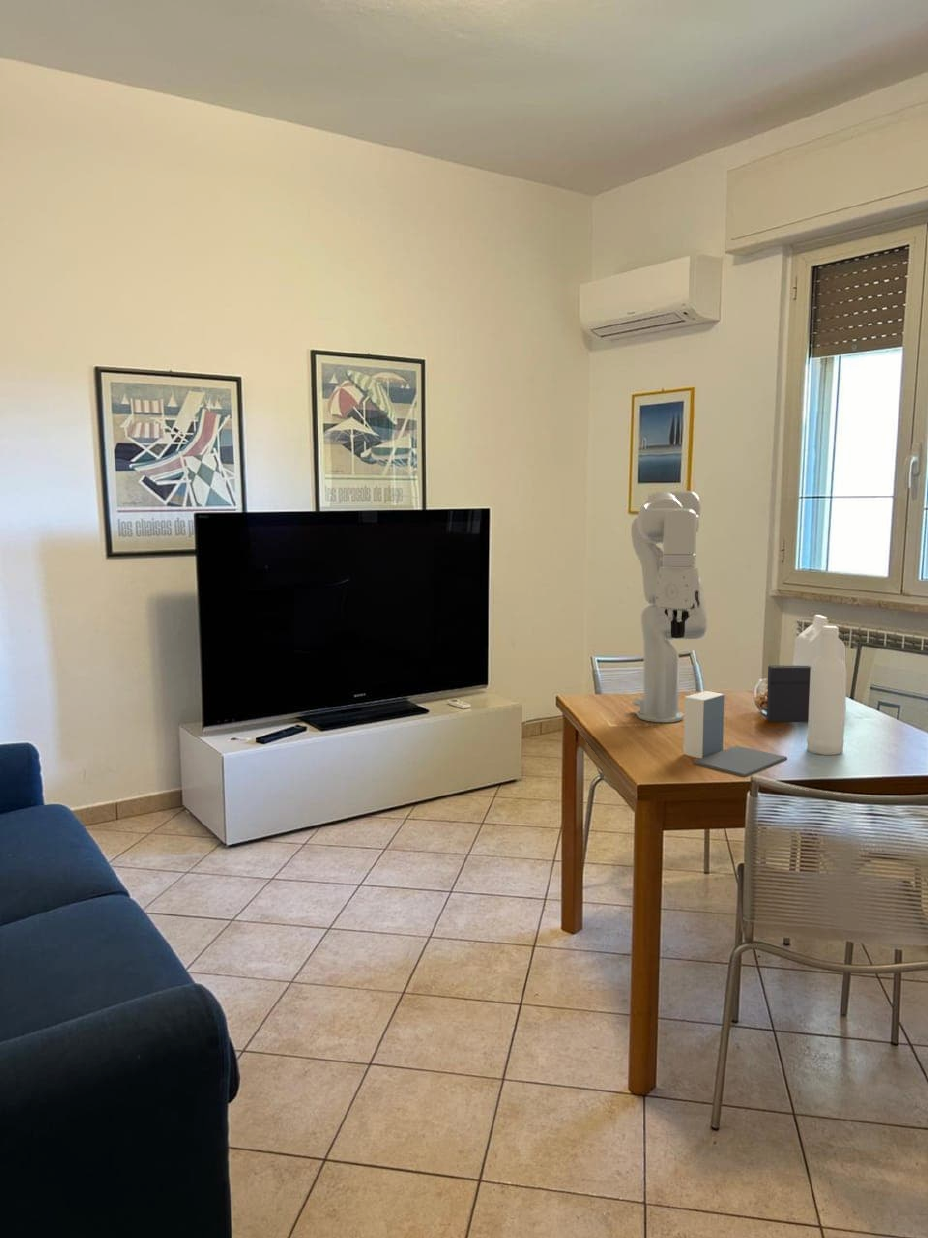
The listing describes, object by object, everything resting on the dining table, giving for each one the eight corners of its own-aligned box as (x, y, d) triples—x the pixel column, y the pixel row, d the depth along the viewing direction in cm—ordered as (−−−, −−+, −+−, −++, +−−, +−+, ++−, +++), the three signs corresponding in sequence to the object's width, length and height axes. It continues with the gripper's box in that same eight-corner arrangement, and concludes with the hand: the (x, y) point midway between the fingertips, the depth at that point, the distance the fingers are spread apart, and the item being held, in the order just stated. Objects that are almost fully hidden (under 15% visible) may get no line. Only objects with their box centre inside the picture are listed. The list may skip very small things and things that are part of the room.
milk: (845, 709, 244) (849, 619, 240) (805, 709, 244) (808, 619, 240) (828, 699, 255) (832, 613, 252) (789, 700, 256) (793, 613, 252)
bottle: (799, 748, 206) (804, 625, 202) (823, 744, 209) (829, 623, 205) (825, 757, 199) (831, 630, 195) (850, 752, 202) (856, 627, 198)
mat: (693, 763, 196) (693, 761, 196) (736, 747, 207) (736, 745, 207) (744, 776, 186) (744, 774, 186) (786, 759, 198) (786, 757, 198)
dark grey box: (806, 718, 234) (809, 665, 232) (811, 722, 229) (813, 668, 227) (765, 718, 235) (767, 664, 233) (769, 722, 230) (771, 667, 228)
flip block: (683, 754, 203) (684, 696, 201) (705, 746, 209) (706, 690, 207) (701, 759, 199) (703, 700, 197) (723, 751, 205) (724, 694, 203)
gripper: (643, 561, 207) (642, 635, 209) (696, 563, 196) (695, 642, 198) (662, 559, 212) (661, 632, 214) (715, 562, 201) (713, 639, 203)
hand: (677, 637), depth 206 cm, fingers closed
